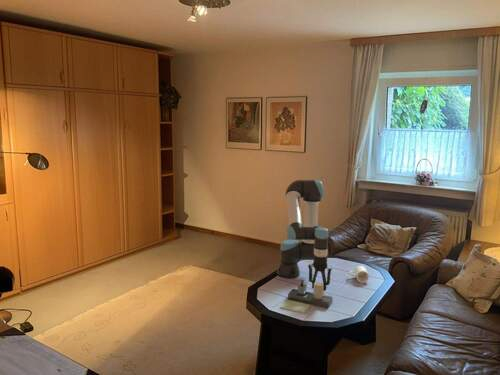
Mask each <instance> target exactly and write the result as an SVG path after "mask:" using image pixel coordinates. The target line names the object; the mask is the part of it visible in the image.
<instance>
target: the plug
mask: <svg viewBox="0 0 500 375" xmlns="http://www.w3.org/2000/svg"><path fill="white" fill-rule="evenodd" d="M322 285H323V282H318V281H317V282H316V284H315V291H314V290H313V291H314V298H316V299H322V298H323V297H322Z"/></svg>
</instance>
